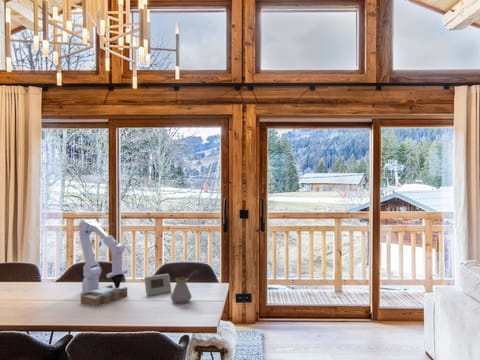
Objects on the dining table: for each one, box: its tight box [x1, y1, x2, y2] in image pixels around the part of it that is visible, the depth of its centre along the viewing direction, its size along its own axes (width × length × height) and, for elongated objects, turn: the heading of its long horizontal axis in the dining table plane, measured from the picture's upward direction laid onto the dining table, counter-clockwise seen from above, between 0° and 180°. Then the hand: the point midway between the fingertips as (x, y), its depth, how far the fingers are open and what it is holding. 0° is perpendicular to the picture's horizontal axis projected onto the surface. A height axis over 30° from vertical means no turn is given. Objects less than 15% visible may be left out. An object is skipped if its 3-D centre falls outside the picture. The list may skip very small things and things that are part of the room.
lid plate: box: [91, 286, 117, 295], centre depth 221 cm, size 10×9×2 cm
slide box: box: [80, 284, 128, 307], centre depth 222 cm, size 22×13×5 cm, turn 152°
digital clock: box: [144, 273, 172, 297], centre depth 236 cm, size 16×9×11 cm, turn 115°
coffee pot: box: [170, 269, 199, 305], centre depth 222 cm, size 21×12×15 cm, turn 153°
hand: (117, 287), depth 230 cm, fingers closed
